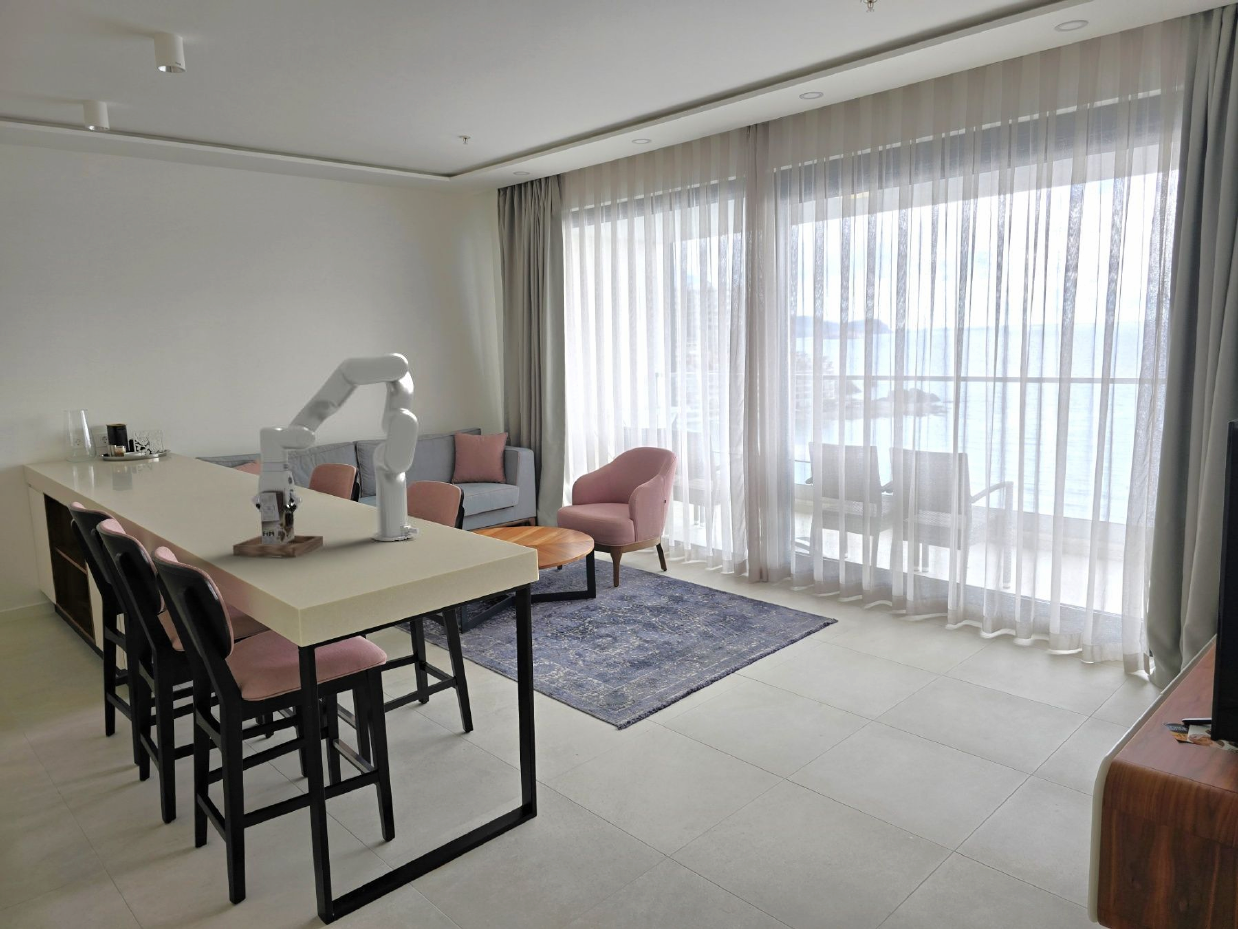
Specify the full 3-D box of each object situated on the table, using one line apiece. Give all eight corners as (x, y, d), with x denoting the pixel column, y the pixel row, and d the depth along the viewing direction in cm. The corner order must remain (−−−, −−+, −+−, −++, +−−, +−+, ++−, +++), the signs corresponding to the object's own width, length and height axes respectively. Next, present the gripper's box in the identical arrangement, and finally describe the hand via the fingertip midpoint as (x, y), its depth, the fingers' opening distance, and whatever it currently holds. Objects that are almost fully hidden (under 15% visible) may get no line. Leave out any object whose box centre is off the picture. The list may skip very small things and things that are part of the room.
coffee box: (282, 545, 245) (280, 492, 243) (261, 545, 245) (258, 492, 243) (295, 538, 254) (292, 487, 252) (275, 538, 254) (272, 487, 252)
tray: (323, 545, 256) (322, 536, 256) (295, 557, 240) (295, 547, 240) (264, 543, 259) (264, 534, 259) (233, 555, 243) (233, 545, 243)
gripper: (308, 466, 249) (310, 523, 251) (255, 465, 252) (259, 522, 254) (294, 469, 242) (297, 528, 244) (241, 468, 244) (244, 526, 246)
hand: (278, 524), depth 249 cm, fingers closed on coffee box, 6 cm apart
